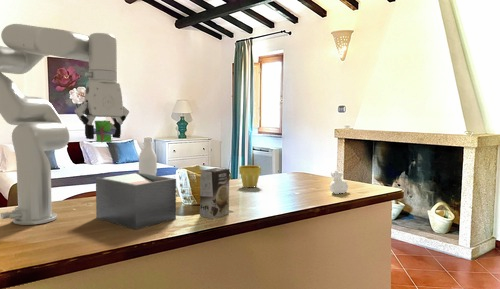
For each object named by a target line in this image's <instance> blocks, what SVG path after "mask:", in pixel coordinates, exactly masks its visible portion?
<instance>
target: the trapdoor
mask: <svg viewBox="0 0 500 289" xmlns="http://www.w3.org/2000/svg"><path fill="white" fill-rule="evenodd" d="M104 178H105V179H110V180H115V181H120V182H125V183H130V184H135V185H138V184H144V183H150V182H152V181H150V180H148V179H146V178H144V177H142V176H140V175H138V174H136V173H135V172H133V173H128V174H127V173H126V174H122V175H115V176H113V175H112V176H108V177H107V176H106V177H104Z"/></svg>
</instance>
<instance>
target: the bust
mask: <svg viewBox="0 0 500 289" xmlns="http://www.w3.org/2000/svg"><path fill="white" fill-rule="evenodd" d="M330 176H331V178H332V179H333V180H332V181H331V182H330V183H329V187H330V192H332V193H333V192H334V193H333V194H335V195H340V194H339V193H343V194H346V193H347V192H348V191H349V190H348V189H349V184H348V182H347V181H346V180H344V179H342V176H343V173H342V172H341V171H339V170H332V171H331V173H330ZM345 192H346V193H345Z"/></svg>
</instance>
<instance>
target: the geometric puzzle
mask: <svg viewBox="0 0 500 289" xmlns="http://www.w3.org/2000/svg"><path fill="white" fill-rule="evenodd" d="M113 124H114V123H112V122H111V121H110V120H105V119H103V120H102V119H101V120H94V121H93V123H92V125H93V126H94V135H95V136H94V139H95V141H96V142H97V143H101V144H102V143H103V144H105V143H112V142H113V140H112V138H113V137H114V136H113V137H112V135H114V134H115V131H116V128H115V127H114V125H113Z"/></svg>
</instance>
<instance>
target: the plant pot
mask: <svg viewBox="0 0 500 289" xmlns="http://www.w3.org/2000/svg"><path fill="white" fill-rule="evenodd" d="M238 168H239V169H238V170H239V171H238V172H239V175H240V178H241V181H242V187H243V186H244V187H243V188H246V187H254V186H258V181H259V177H260V175H261V171H262V170H261V166H260V165H252V164H251V165H249V164H247V165H246V164H245V165H239V167H238ZM254 188H255V187H254Z"/></svg>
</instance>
